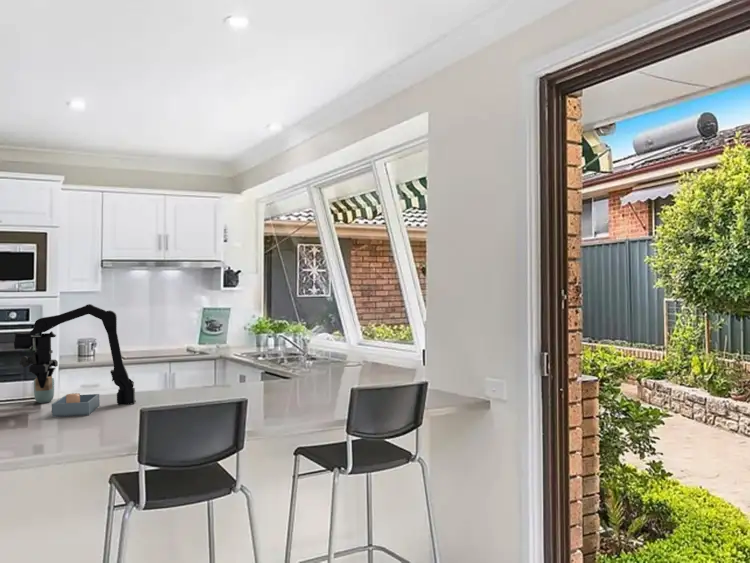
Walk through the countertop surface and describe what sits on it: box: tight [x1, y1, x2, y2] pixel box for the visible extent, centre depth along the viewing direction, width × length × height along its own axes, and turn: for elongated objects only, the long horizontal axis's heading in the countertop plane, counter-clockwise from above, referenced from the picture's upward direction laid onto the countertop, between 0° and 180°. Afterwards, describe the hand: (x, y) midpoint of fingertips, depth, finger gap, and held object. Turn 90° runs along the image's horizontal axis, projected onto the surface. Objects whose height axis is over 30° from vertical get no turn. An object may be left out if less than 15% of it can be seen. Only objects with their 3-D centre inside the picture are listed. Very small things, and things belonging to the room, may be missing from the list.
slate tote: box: [51, 393, 101, 418], centre depth 270 cm, size 13×19×5 cm
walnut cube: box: [34, 375, 53, 391], centre depth 275 cm, size 5×5×5 cm
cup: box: [33, 377, 55, 404], centre depth 292 cm, size 8×8×10 cm
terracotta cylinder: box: [65, 392, 81, 403], centre depth 265 cm, size 5×5×7 cm
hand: (43, 386), depth 275 cm, fingers closed on walnut cube, 5 cm apart
